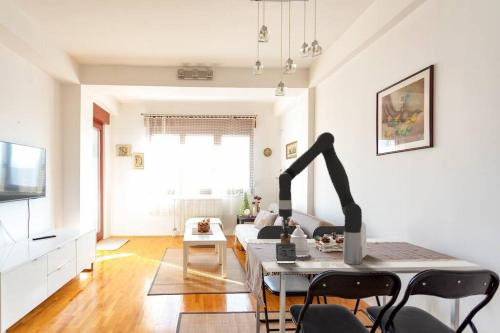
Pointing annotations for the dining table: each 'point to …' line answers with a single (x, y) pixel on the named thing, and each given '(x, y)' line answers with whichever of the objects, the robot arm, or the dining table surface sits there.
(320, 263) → the dining table surface
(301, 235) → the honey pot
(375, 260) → the dining table surface
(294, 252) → the small box
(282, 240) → the walnut cube
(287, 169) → the robot arm
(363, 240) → the milk
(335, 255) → the dining table surface
